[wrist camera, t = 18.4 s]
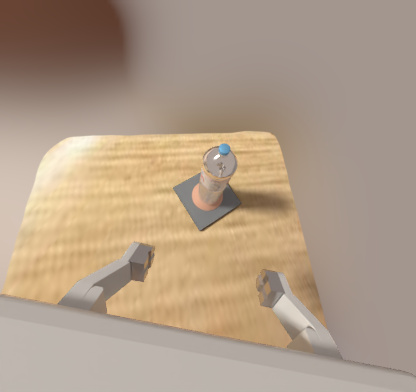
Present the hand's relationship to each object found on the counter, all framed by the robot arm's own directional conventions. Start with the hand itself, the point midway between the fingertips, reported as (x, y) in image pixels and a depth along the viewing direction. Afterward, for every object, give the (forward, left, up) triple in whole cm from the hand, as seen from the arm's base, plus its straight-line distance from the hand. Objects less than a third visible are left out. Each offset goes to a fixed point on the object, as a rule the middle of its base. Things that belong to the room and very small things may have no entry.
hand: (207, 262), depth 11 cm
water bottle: (+11, -12, -33) cm, 37 cm away
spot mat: (+12, -12, -34) cm, 38 cm away
